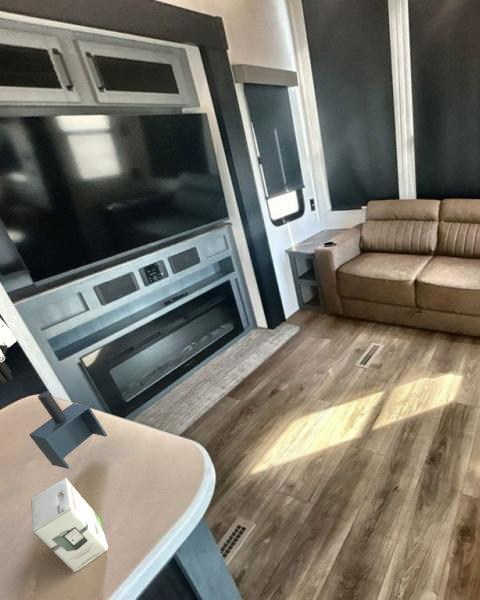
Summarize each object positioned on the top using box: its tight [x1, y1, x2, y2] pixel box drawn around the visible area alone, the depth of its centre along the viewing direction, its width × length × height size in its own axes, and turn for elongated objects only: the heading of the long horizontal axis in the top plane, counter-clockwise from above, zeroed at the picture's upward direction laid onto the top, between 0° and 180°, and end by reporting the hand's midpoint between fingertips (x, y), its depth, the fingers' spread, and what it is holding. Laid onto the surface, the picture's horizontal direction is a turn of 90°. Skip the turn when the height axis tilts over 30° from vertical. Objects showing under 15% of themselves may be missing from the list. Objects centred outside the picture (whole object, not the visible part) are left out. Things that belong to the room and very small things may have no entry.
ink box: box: [30, 477, 109, 573], centre depth 60 cm, size 9×5×12 cm, turn 45°
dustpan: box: [29, 391, 108, 470], centre depth 75 cm, size 16×9×4 cm
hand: (3, 380), depth 73 cm, fingers closed
